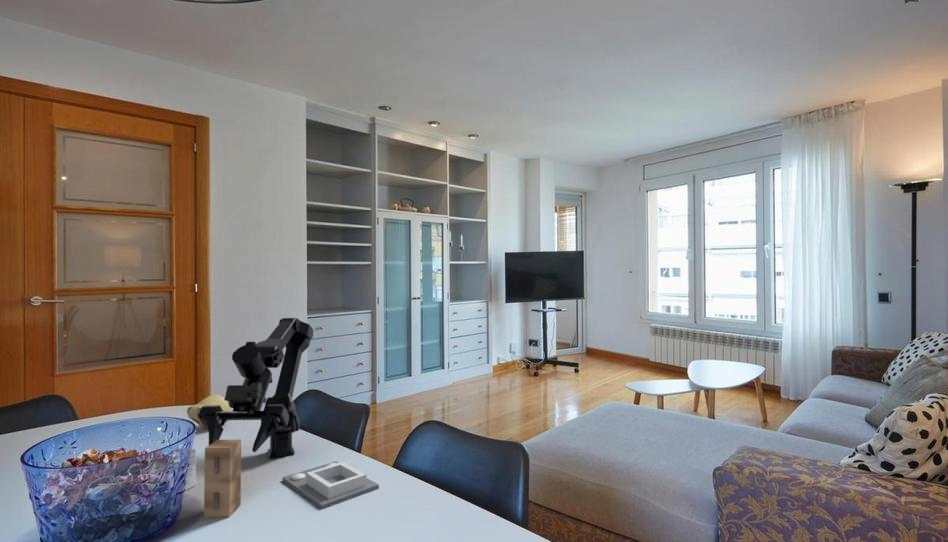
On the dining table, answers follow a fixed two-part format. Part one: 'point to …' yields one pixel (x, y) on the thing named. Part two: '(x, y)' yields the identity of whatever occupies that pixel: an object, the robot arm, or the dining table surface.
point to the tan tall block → (222, 478)
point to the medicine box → (191, 471)
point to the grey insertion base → (330, 483)
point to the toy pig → (207, 401)
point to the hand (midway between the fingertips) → (232, 451)
